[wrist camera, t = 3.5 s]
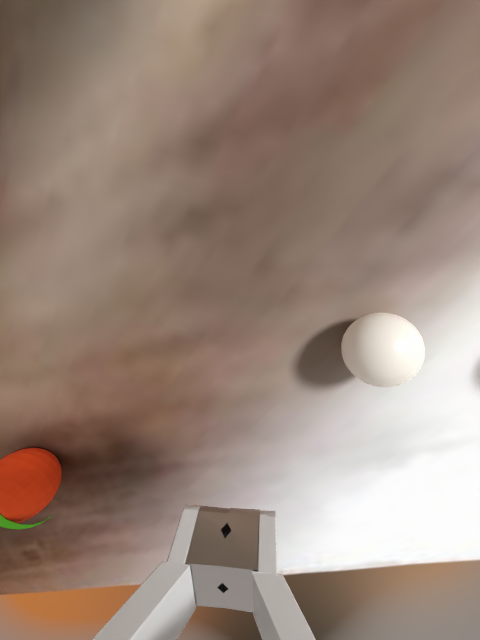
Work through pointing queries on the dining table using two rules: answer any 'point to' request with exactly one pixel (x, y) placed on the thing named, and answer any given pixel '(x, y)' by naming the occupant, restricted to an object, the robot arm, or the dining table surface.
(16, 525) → the clementine
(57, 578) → the dining table surface
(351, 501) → the dining table surface
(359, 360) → the cue ball
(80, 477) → the dining table surface
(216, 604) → the robot arm
